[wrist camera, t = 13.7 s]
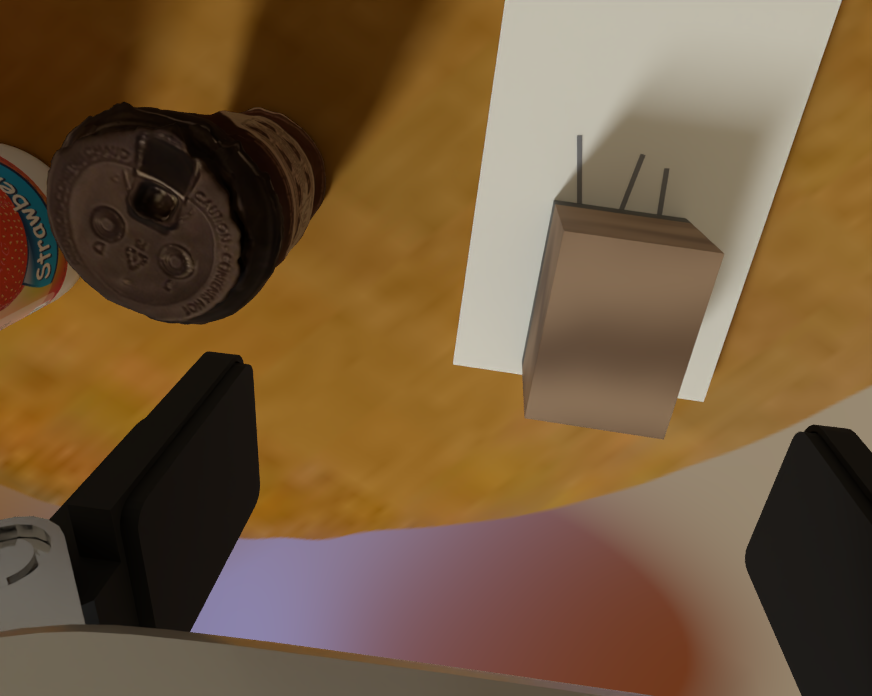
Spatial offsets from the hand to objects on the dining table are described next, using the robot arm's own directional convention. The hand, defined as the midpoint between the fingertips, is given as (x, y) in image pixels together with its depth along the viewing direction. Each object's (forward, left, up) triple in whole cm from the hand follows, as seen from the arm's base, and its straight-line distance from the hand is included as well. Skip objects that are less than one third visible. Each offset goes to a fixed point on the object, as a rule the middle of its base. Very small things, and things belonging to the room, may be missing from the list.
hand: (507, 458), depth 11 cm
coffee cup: (+1, -12, -24) cm, 27 cm away
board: (0, +6, -24) cm, 25 cm away
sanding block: (+4, +6, -23) cm, 24 cm away
